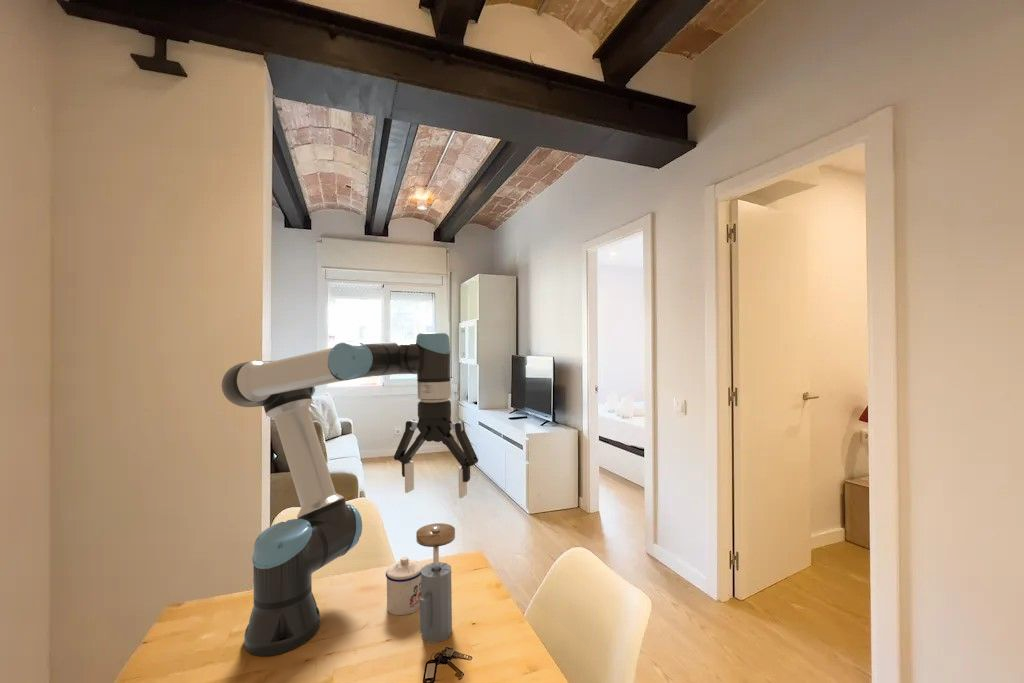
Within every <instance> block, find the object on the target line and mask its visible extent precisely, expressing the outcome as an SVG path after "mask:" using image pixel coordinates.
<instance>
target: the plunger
mask: <svg viewBox="0 0 1024 683" xmlns="http://www.w3.org/2000/svg"><path fill="white" fill-rule="evenodd" d="M415 532H416V533H415V534H416V538H415V540H416V543H417V544H418V545H420V546H422V547H428V548H433V549H432V550H433V551H432V552H433V554H432V555H433V558H432V559H433V562H432V563H433V565H434V572H439V562H440V555H439V554H440V553H439V552H440V550H439V549H440V547H442V546H446V545H448V544H451V543H452V542H453V541H455V538H456V528H455V527H454V526H453V525H452V524H448V523H430V524H425V525H424V526H421V527H420V528H418V529H417V530H416V531H415Z"/></svg>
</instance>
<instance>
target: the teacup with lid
mask: <svg viewBox="0 0 1024 683" xmlns="http://www.w3.org/2000/svg"><path fill="white" fill-rule="evenodd" d="M423 567H424V566H423V564H422V563H421V562H420V561H418V560H415V559H414V560H413V559H409V557H407V556H403V557H401V558H400V560H399V561H397V562H393V563H392V564H391V565H390V566H388V567H387V568H386V571H385V577H386V609H387V611H388V612H389V613H390V614H392V615H393V616H406V615H410V614H413V613H415V612H417V611H418V610H420V599H421V569H422V568H423Z"/></svg>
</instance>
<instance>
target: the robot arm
mask: <svg viewBox="0 0 1024 683" xmlns="http://www.w3.org/2000/svg"><path fill="white" fill-rule="evenodd" d="M450 343H451V342H450V336H449V334H447V333H446V332H419V333H418V334H417V335H416V340H415V341H413V342H411V341H409V342H408V341H407V342H406V341H405V342H404V341H403V342H402V341H399V342H397V341H394V342H391V341H386V342H385V341H384V342H381V341H380V342H378V341H377V342H375V341H374V342H373V341H372V342H370V341H369V342H368V341H357V340H351V341H344V342H343V341H342V342H340V343H337V344H335V345H334V346H333V347H329V348H326V349H321V350H316V351H312V352H308V353H304V354H299V355H295V356H290V357H285V358H281V359H276V360H262V361H261V360H260V361H256V360H254V361H253V360H251V361H245V362H239V363H236V364H235V365H233V366H232V367H230V368H228V370H227V371H226V372H225V373H224V375H223V377H222V380H221V391H222V393H223V396H224V397H225V398H226V399H227V401H229V402H230V403H232V404H234V405H236V406H238V407H243V408H258V407H259V408H260V407H263V408H264V412H265V416H266V417H268V418H270V419H273V421H274V423H275V426H276V430H277V433H278V437H279V439H280V442H281V445H282V448H283V452H284V455H285V458H286V462H287V465H288V469H289V471H290V474H291V478H292V481H293V482H292V483H293V485H294V487H295V492H296V494H297V498H298V501H299V504H300V509H299V512H298V514H297V515H296V518H294V519H287V520H286V521H280V522H278V523H275V524H273V525H270V526H269V527H267V528H266V529H264V530H262V531H261V533H259V535H258V536H257V537H256V538H255V541H254V544H253V553H252V558H251V559H252V560H251V561H252V564H253V607H252V610H251V613H250V617H249V620H248V624H247V626H246V628H245V631H244V640H243V641H244V644H243V645H244V648H245V651H247V652H248V653H249V654H251V655H254V656H260V657H268V656H275V655H280V654H283V653H287V652H291V651H292V650H294V649H297V648H299V647H300V646H302V645H304V644H305V643H307V642H308V641H310V640H311V639H312V638H313V637H314V636H315V635H316V634H317V632H318V631H319V628H320V626H321V612H320V609H319V607H318V605H317V601H316V598H315V597H314V594H313V590H312V588H313V587H312V580H313V579H312V574H313V573H314V572H316V571H318V570H320V569H321V568H323V567H325V566H326V565H328V564H330V563H331V562H333V561H334V560H335V559H338V558H340V557H342V556H344V555H346V554H347V553H348V552H350V550H352V549H353V548H354V547H355V546H356V545H357V544H358V543H359V541H360V538H361V536H362V532H363V520H362V516H361V513H360V511H359V510H358V509H357V507H355V506H354V505H353V504H350V503H346V500H345V497H344V496H343V495H341V494H339V493H337V492H336V490H335V486H334V483H333V480H332V477H331V474H330V470H329V467H328V464H327V462H326V458H325V454H324V452H323V449H322V445H321V442H320V440H319V436H318V433H317V430H316V427H315V423H314V421H313V417H312V415H311V412H310V407H311V406H312V403H313V398H312V397H313V396H314V394H315V392H316V388H315V387H318V386H322V385H327V384H328V385H329V384H334V383H338V382H339V383H340V382H343V381H345V382H346V381H351V380H355V379H361V378H369V377H381V376H392V375H416V378H417V379H416V381H417V399H418V400H419V401H418V402H417V417H418V421H417V420H415V419H411V420H407V421H406V422H405V425H404V426H405V429H404V432H403V434H402V437H401V440H400V441H399V444H398V446H397V448H396V451H395V453H394V455H393V459H394V460H395V461H399V462H400V463H401V476H402V477H403V478H404V493H406V494H408V493H410V492H412V491H413V490H415V472H414V470H415V469H414V468H415V466H414V464H415V463H414V462H415V461H414V460H413V459H412V458H413V457H414V456H415V454H416V453H417V452H418V451H419V449H420V448H421V446H423V444H424V443H425V442H435V443H440V442H441V443H442V444H443V445H445V446H446V447H447V449H448V451H450V453H451V454H452V455H453V457H454V458H455V459H456V461H457V462H458V464H459V465H460V467H458V470H457V471H458V474H457V476H458V498H459V499H463V498H464V497H465V496H467V495H468V482H469V481H470V480H471V467H472V466H474V465H476V464H478V462H479V459H478V456H477V454H476V452H475V450H474V448H473V445H472V443H471V441H470V438H469V437H468V434H467V432H466V428H465V427H466V426H465V423H464V421H462V420H461V421H459V422H452V419H451V417H452V401H450V400H449V399H451V398H452V390H451V387H452V386H451V353H452V351H451V344H450ZM416 430H418V431H419V434H418V435H417V437H416V438H415V440H414V442H413V443H412V444H411V445H410V442H411V441H412V438H413V436H414V434H415V431H416ZM452 430H453V432H454V433H455V436H456V438H457V440H458V443H459V444H458V443H457V441H456V440H455V437H454V435H453V434H452V433H451V431H452ZM409 445H410V447H409ZM407 449H408V450H407Z"/></svg>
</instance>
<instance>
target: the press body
mask: <svg viewBox="0 0 1024 683" xmlns="http://www.w3.org/2000/svg"><path fill="white" fill-rule="evenodd" d="M422 567H423V568H422V569H421V599H420V608H419V634H421V638H422V639H424V641H425V642H429V643H439V642H443V641H445V640H447V639H448V638H450V636H451V635H452V633H453V615H452V614H453V613H452V610H453V607H452V601H453V600H452V599H453V598H452V566H451V565H450V564H449V563H447V562H442V561H439V572H434V565H433V562H431V563H428V564H426V565H424V566H422Z"/></svg>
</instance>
